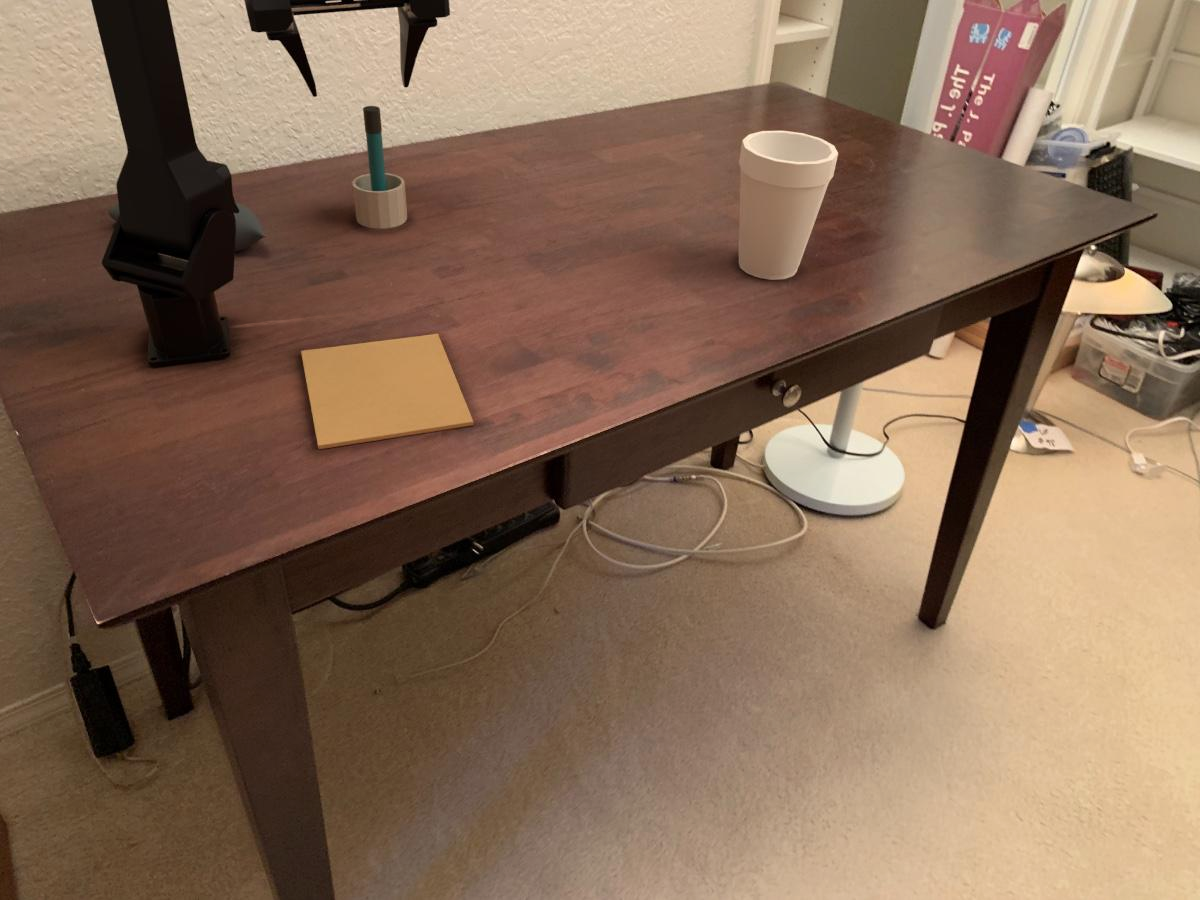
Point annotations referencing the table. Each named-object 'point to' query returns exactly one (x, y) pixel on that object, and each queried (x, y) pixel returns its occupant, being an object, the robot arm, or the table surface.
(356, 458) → the table surface
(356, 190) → the pot
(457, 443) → the table surface
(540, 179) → the table surface
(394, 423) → the desk mat
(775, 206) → the foam cup
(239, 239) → the dark grey fabric pouch
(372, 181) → the pen
